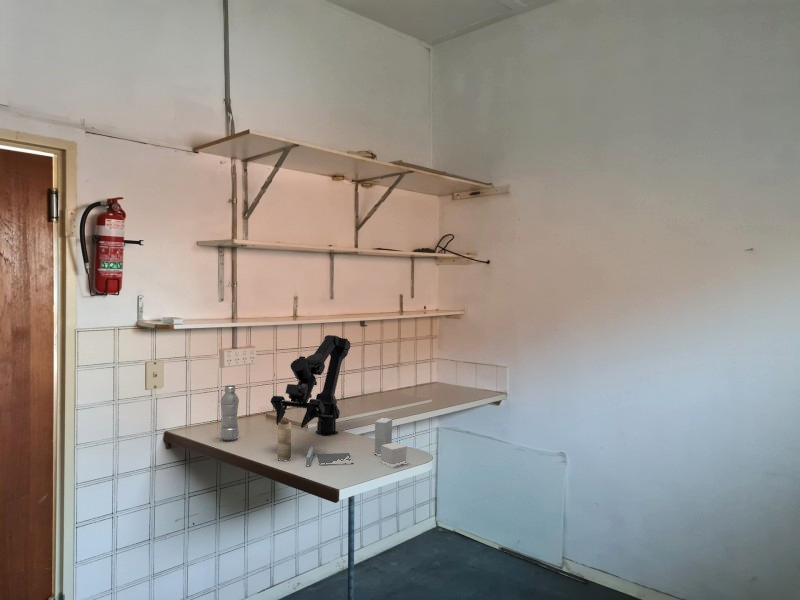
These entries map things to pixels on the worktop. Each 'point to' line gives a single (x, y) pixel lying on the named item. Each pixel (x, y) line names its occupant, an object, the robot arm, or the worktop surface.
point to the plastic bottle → (229, 414)
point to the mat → (332, 457)
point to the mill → (284, 439)
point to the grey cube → (393, 453)
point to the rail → (310, 454)
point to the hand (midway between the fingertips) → (289, 425)
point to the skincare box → (382, 433)
